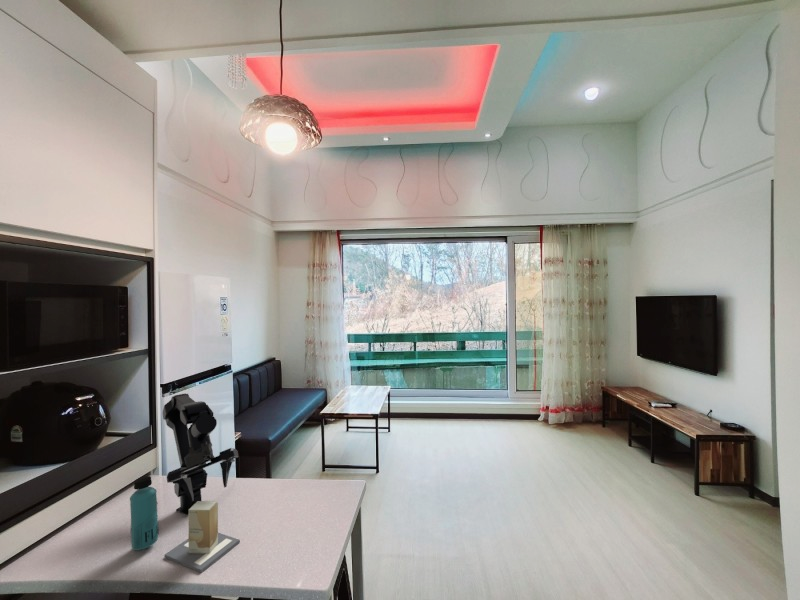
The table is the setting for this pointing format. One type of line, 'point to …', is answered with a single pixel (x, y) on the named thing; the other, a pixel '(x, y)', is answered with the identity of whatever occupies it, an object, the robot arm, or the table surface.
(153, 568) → the table surface
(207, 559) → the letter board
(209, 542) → the skincare box
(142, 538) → the beverage bottle
